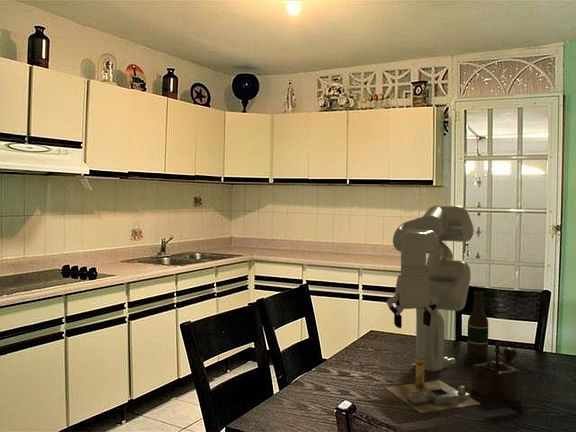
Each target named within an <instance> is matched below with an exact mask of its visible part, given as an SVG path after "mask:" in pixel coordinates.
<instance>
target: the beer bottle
mask: <svg viewBox="0 0 576 432" xmlns="http://www.w3.org/2000/svg"><path fill="white" fill-rule="evenodd" d="M473 296H474V298H473V305H472V306H473V307H472V312H471V314H470V315H469V317H468V320H467V336H466V337H467V342H466V343H467V344H466V345H467V348H466V350H467V351H466V352H467V353H468V354H470V355H472V354H473V355H474V356H481V357H482V356H487V354H488V351H489V319H488V316H487V315H486V314H485V311H484V292H483V291H474V292H473ZM473 355H472V356H473Z"/></svg>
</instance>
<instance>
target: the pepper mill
mask: <svg viewBox="0 0 576 432" xmlns="http://www.w3.org/2000/svg"><path fill="white" fill-rule="evenodd" d="M494 347H495V348H494V351H495V359H494V360H489V361H486V362H483V363H476V364H472V366H471V367H472V368H471V391H472V392H473V391H474V392H475V393H477V394H478V395H482V396H484V397H486V398H488V399H490V400H492V401H495V402H502V401H506V400H507V401H508V400H509V401H511V402H513V404H514V403H519V402H521V401H522V384H523V382H522V381H523V370H520V369H518V368H516V367H513V365H514V362H515V361H514V359H516V358H517V357H518V352H517V350H516V349H514V348H513V347H506V348H504V349H503V351H501V349H500V347H501V345H500V344H499V343H496V344H495V346H494ZM499 356H502V357H504V359H503V360H502V361H500V359H499V358H500V357H499Z"/></svg>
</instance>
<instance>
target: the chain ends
mask: <svg viewBox="0 0 576 432" xmlns="http://www.w3.org/2000/svg"><path fill="white" fill-rule="evenodd" d="M457 390H458V391H453V392H452V391H451V390H449V389H447V388H445V387H444V386H437V387H430V388H422V389H420V392H412V393H409V394H407V402H408V403H410V404H411V405H413V406H414V407H415V406H422V405H429V404H431V405H433V406H434V407H440V406H447V405H454V404H459V400H464V399H470V398H471V394H470V393H468V392H467V387H466V386H465V385H458V386H457ZM408 403H407V404H408Z"/></svg>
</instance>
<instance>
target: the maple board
mask: <svg viewBox="0 0 576 432" xmlns="http://www.w3.org/2000/svg"><path fill="white" fill-rule="evenodd" d="M437 386H444V387H445V388H447V389H449V390H451V391H452V392H453V391H458V389H456V388H454V387H452V386H451V385H448V384H446V383H445V382H443V381H441V380H440V379H439V380H432V381H430V380H429V381H424V388H430V387H437ZM385 389H387V390H388V391H389V392H390V393H392V394H394V395H395V396H396V397H398V398H399V399H400V400H402V401H403V402H405V403H406V404H408V405H410V406H411V408H413V409H415V410H416V411H418V412H419V413H420V414H423V413H424V414H425V413H428V412H429V413H430V412H436V411H437V412H438V411H444V410H448V409H456V408H457V409H458V408H462V407H470V406H471V407H472V406H475V405H476V406H477V405H481V404H482V403H481V402H479V401H477V400H475V399H474V398H472V397H470V399H464V400H459V404H454V405H447V406H440V407H434V406H433V405H431V404H429V405H422V406H415V407H414V406H413V405H411V404H410V403H408V402H407V394H409V393H412V392H420V390H419V389H416V382H415V383H409V384H400V385H393V386H392V385H391V386H385Z"/></svg>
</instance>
